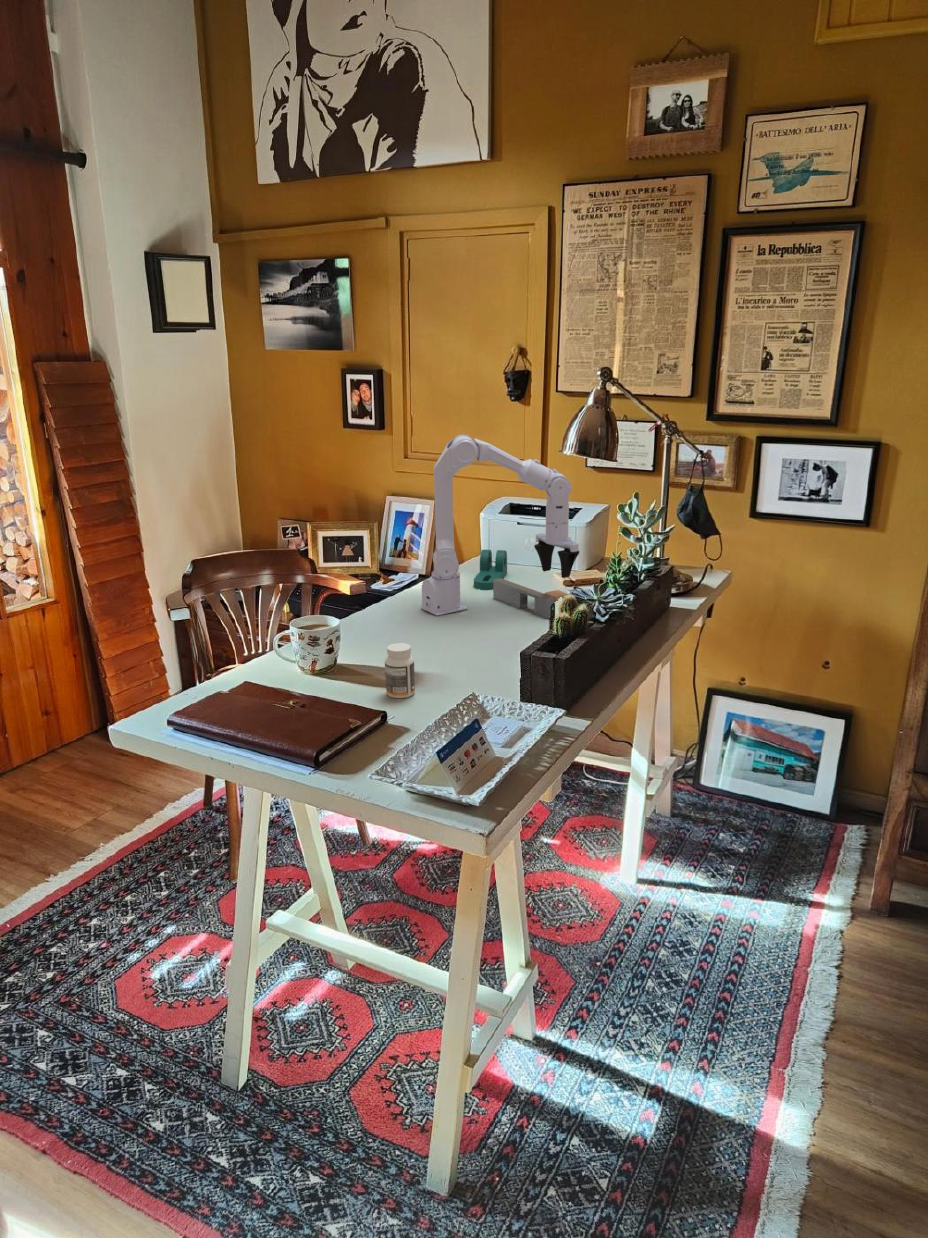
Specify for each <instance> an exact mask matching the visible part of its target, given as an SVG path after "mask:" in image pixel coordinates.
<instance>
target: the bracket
mask: <svg viewBox="0 0 928 1238" xmlns="http://www.w3.org/2000/svg"><path fill="white" fill-rule="evenodd" d="M494 563H495V564H494V565H493V554H492V550H491V549H481V551H480V556H479V572H478V573H477V575H476V576H475V577H474V578H473V588H474V589H475V590H479V589H480V590H481V591H493V590H492V589H493V580H494V579H499V578H502V579H505V578H506V575H507V574H508V552H507V550H506V549H505V550H503V549H502V550H500V549H499V550H496V553H495V560H494Z"/></svg>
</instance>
